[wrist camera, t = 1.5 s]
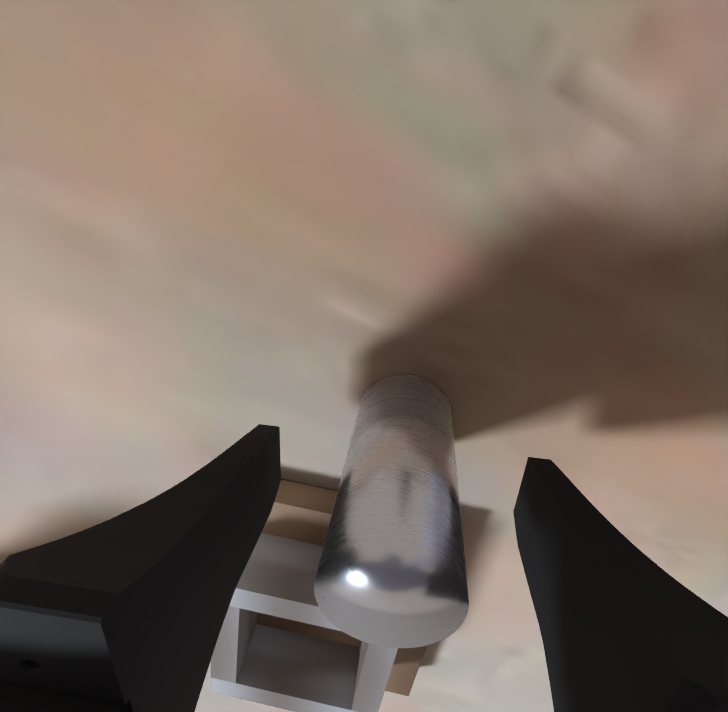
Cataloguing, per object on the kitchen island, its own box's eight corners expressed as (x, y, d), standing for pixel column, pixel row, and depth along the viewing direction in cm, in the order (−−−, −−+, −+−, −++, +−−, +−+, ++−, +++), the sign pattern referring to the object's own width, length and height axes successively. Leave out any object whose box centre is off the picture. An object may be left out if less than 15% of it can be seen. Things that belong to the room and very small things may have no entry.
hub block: (461, 517, 17) (469, 604, 14) (409, 668, 22) (406, 761, 18) (209, 464, 18) (160, 536, 14) (209, 622, 22) (171, 705, 19)
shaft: (461, 384, 15) (487, 563, 8) (439, 460, 16) (448, 661, 10) (366, 365, 15) (323, 527, 9) (353, 442, 16) (306, 629, 10)
